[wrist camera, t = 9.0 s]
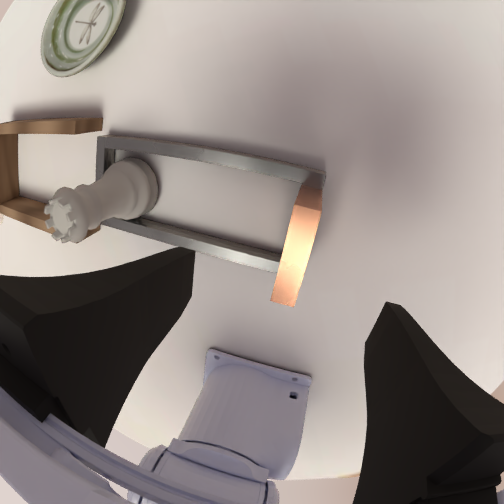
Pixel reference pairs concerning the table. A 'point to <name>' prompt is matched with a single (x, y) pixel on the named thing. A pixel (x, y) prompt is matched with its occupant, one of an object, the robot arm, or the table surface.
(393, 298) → the table surface
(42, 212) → the walnut lane
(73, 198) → the rook chess piece
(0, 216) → the shot glass
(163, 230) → the frame
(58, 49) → the saucer
